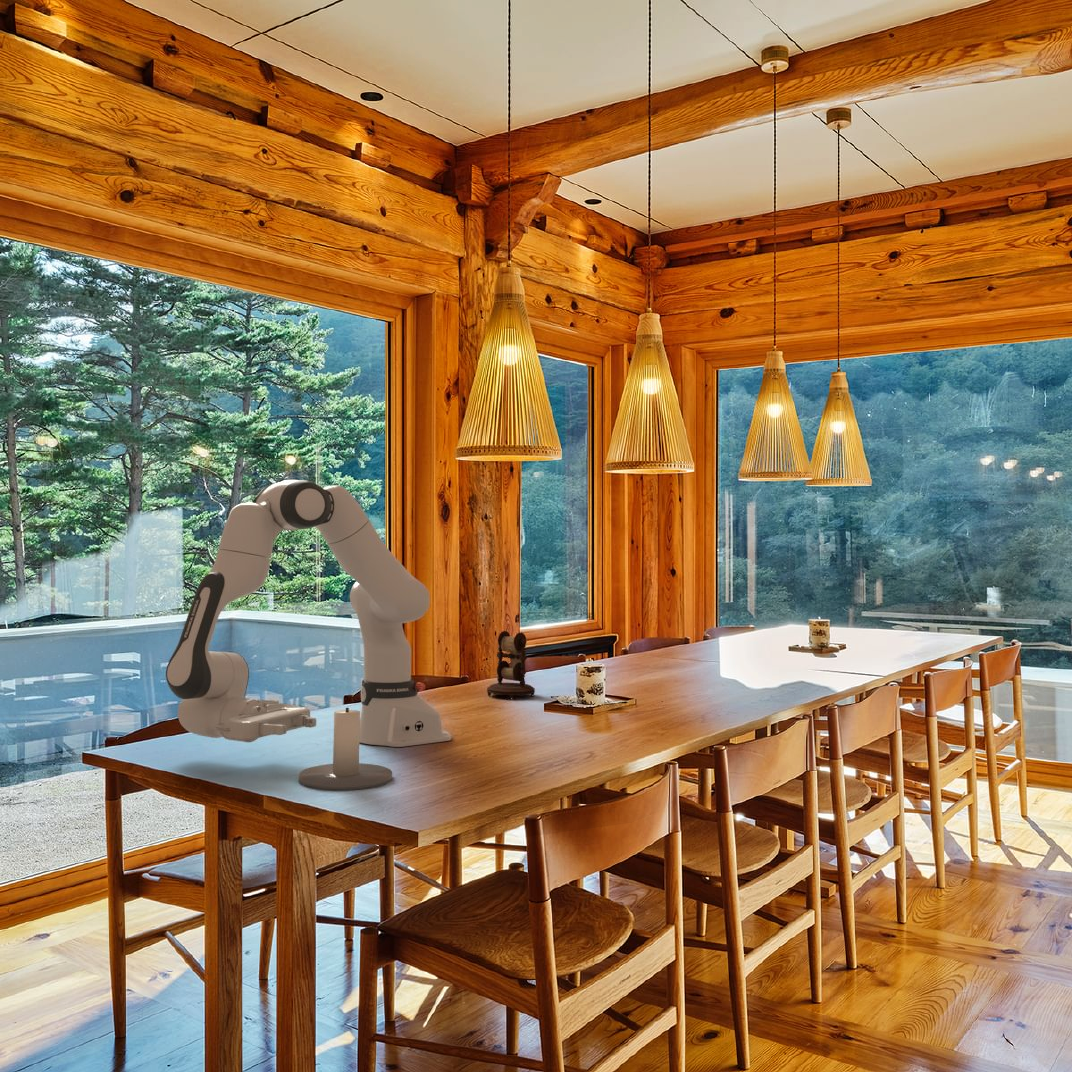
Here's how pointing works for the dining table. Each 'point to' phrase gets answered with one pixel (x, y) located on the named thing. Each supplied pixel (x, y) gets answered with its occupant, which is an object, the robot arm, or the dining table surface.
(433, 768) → the dining table surface
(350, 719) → the candle
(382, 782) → the plate
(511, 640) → the double spool stand
